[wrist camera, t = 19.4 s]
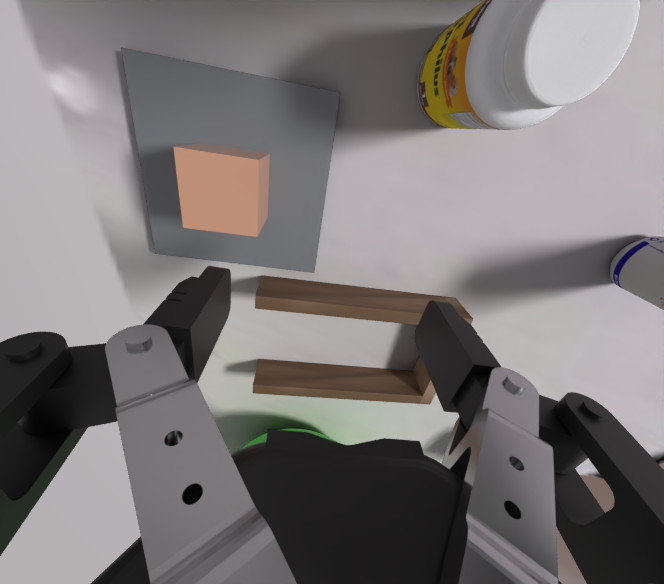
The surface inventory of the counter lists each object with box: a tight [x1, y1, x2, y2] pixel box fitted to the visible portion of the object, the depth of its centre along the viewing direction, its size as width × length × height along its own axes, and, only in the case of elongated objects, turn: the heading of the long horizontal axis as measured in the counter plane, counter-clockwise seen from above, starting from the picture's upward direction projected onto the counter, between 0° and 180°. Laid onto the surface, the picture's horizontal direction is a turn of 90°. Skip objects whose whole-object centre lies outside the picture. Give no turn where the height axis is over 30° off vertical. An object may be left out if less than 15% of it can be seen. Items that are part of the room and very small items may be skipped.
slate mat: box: [121, 48, 340, 273], centre depth 21 cm, size 13×13×1 cm
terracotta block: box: [174, 143, 270, 237], centre depth 18 cm, size 4×4×4 cm
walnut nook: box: [253, 276, 473, 404], centre depth 28 cm, size 11×19×4 cm, turn 81°
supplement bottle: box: [417, 0, 640, 130], centre depth 14 cm, size 6×6×10 cm
